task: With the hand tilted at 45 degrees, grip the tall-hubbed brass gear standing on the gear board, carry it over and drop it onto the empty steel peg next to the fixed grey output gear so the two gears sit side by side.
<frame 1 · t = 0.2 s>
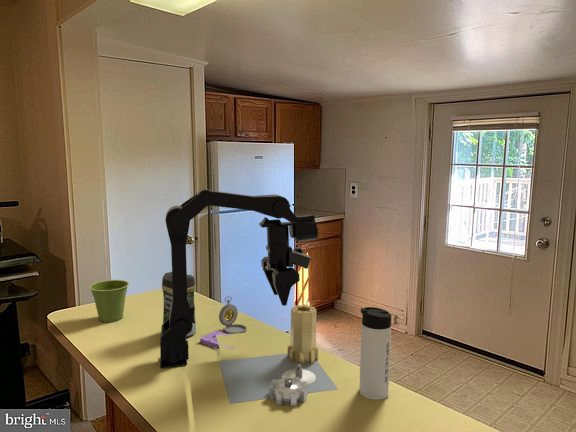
hand: (280, 299, 116), 14 cm above the countertop, tool pointing down, fingers open, 9 cm apart
travel mug: (372, 397, 95), on the countertop
coffee jar: (179, 334, 129), on the countertop
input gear: (302, 357, 111), point 1 cm above the countertop, touching gear board
gear board: (274, 378, 103), on the countertop
pocket watch: (233, 330, 132), on the countertop
output gear: (288, 395, 93), resting on gear board
plant pot: (110, 319, 140), on the countertop
sponges: (224, 345, 122), on the countertop
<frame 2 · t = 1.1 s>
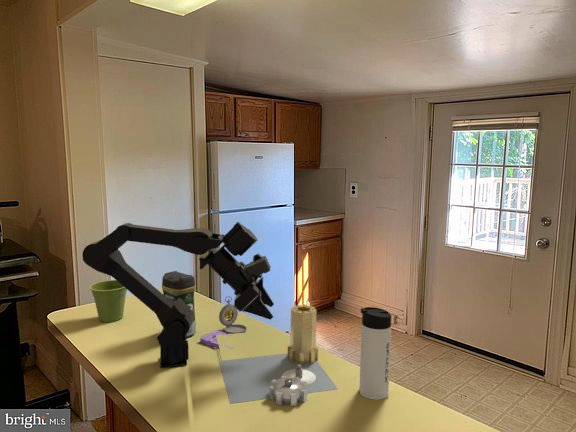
hand: (272, 311, 110), 13 cm above the countertop, tool tilted 45°, fingers open, 9 cm apart
nothing on the countertop moved.
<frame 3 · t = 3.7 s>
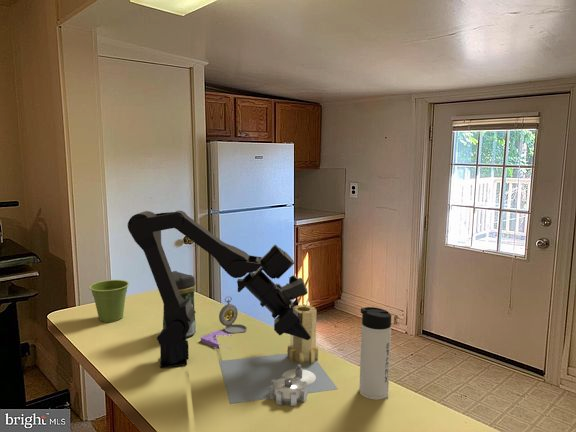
hand: (308, 333, 110), 8 cm above the countertop, tool tilted 45°, fingers closed on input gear, 6 cm apart
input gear: (302, 357, 111), point 1 cm above the countertop, touching gear board, gripper
everything else where it was.
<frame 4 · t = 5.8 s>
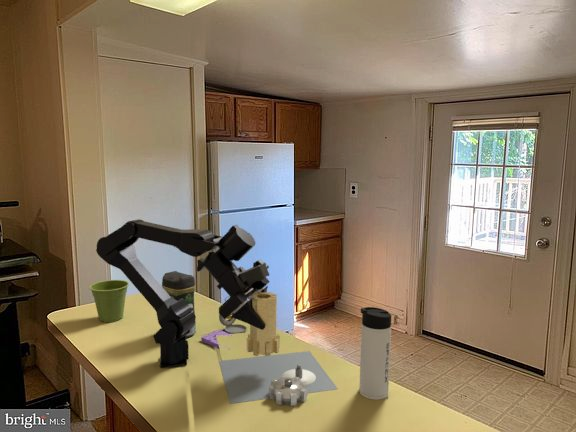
hand: (269, 323, 102), 13 cm above the countertop, tool tilted 45°, fingers closed on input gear, 6 cm apart
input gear: (263, 349, 103), point 7 cm above the countertop, touching gripper
everything else where it was.
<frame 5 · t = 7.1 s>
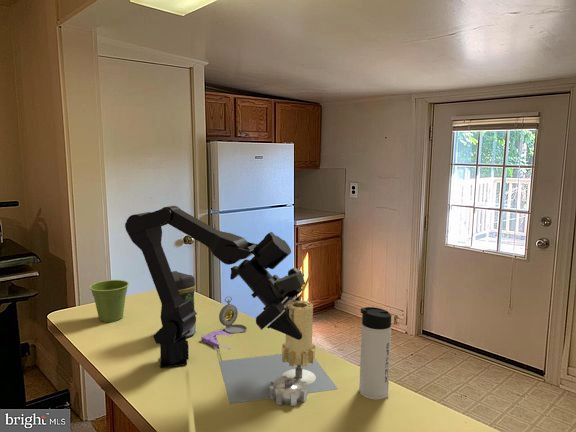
hand: (304, 333, 99), 12 cm above the countertop, tool tilted 45°, fingers closed on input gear, 6 cm apart
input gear: (298, 359, 100), point 6 cm above the countertop, touching gripper
everything else where it was.
when the fingers open (10 cm above the countertop, at t = 8.0 s): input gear drops 2 cm, resting on gear board.
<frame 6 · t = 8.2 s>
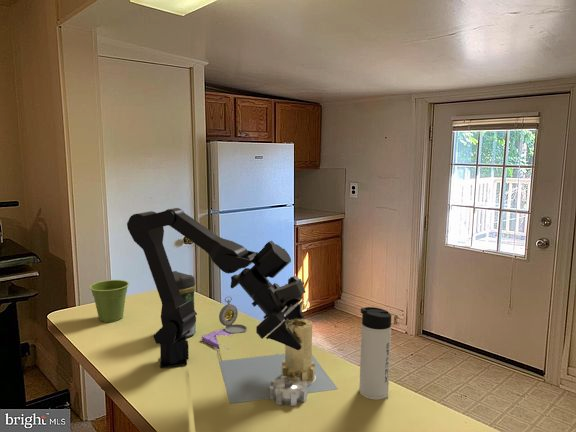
hand: (305, 341, 99), 10 cm above the countertop, tool tilted 45°, fingers open, 8 cm apart
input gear: (298, 377, 101), point 1 cm above the countertop, touching gear board
everything else where it was.
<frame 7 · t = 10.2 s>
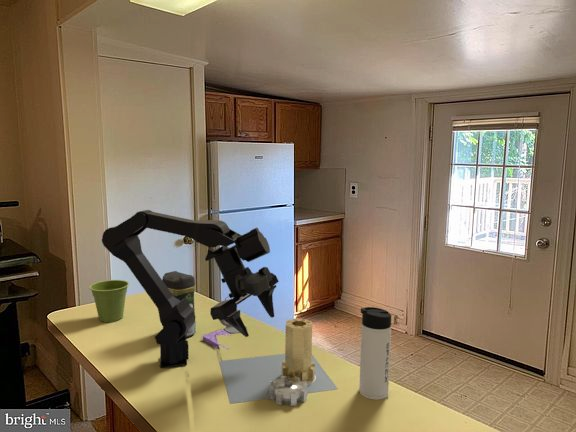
hand: (260, 326, 106), 11 cm above the countertop, tool tilted 25°, fingers open, 9 cm apart
nothing on the countertop moved.
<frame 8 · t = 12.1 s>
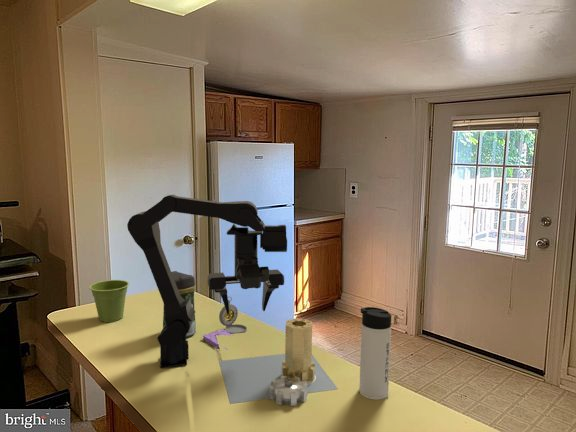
hand: (245, 312, 110), 13 cm above the countertop, tool pointing down, fingers open, 9 cm apart
nothing on the countertop moved.
at the end: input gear 0.1 cm from the target spot on the gear board, point 1.3 cm above the gear board's base; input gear tilted 0°; the gripper is holding nothing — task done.
